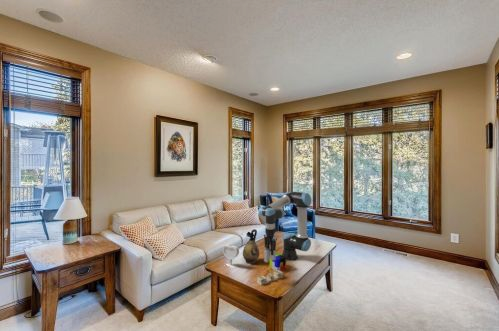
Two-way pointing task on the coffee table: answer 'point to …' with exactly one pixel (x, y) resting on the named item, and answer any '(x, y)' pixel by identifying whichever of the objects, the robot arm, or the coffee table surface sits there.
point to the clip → (266, 254)
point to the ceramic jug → (251, 248)
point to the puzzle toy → (278, 263)
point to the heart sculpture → (230, 253)
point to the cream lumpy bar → (269, 277)
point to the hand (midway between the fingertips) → (269, 257)
